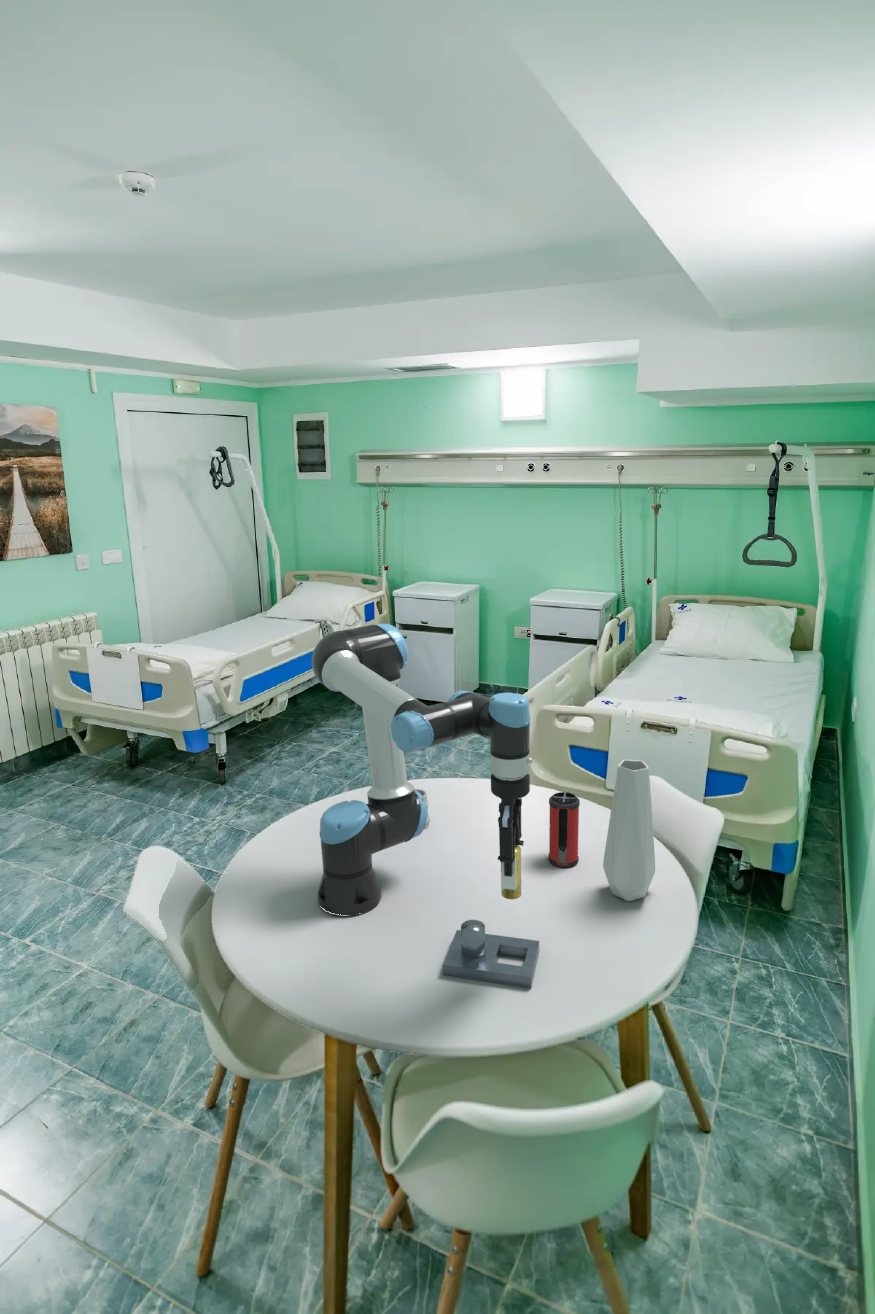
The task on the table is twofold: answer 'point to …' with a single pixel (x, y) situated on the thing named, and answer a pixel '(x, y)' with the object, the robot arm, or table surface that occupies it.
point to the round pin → (516, 893)
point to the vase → (630, 833)
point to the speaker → (563, 829)
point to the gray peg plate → (490, 956)
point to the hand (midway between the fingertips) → (511, 881)
